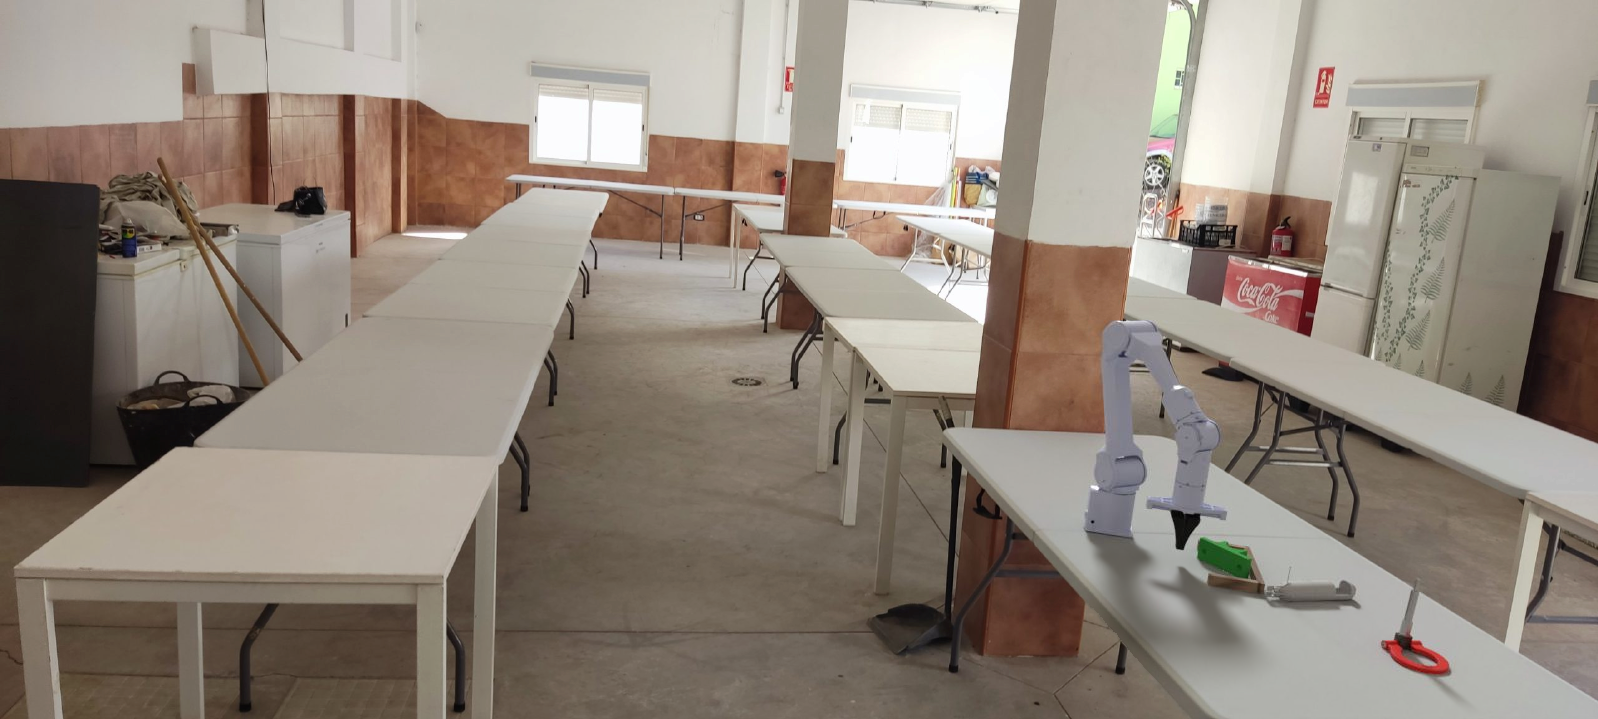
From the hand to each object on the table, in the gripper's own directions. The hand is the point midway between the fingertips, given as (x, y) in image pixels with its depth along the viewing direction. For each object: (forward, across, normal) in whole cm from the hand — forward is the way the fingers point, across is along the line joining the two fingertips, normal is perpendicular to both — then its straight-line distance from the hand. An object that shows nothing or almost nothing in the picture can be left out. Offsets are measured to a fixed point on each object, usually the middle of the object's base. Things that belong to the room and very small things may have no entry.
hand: (1179, 547), depth 207 cm
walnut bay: (+3, +9, 0) cm, 10 cm away
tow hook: (+3, +35, -27) cm, 44 cm away
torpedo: (+3, +22, -8) cm, 24 cm away
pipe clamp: (+3, +9, +1) cm, 10 cm away
